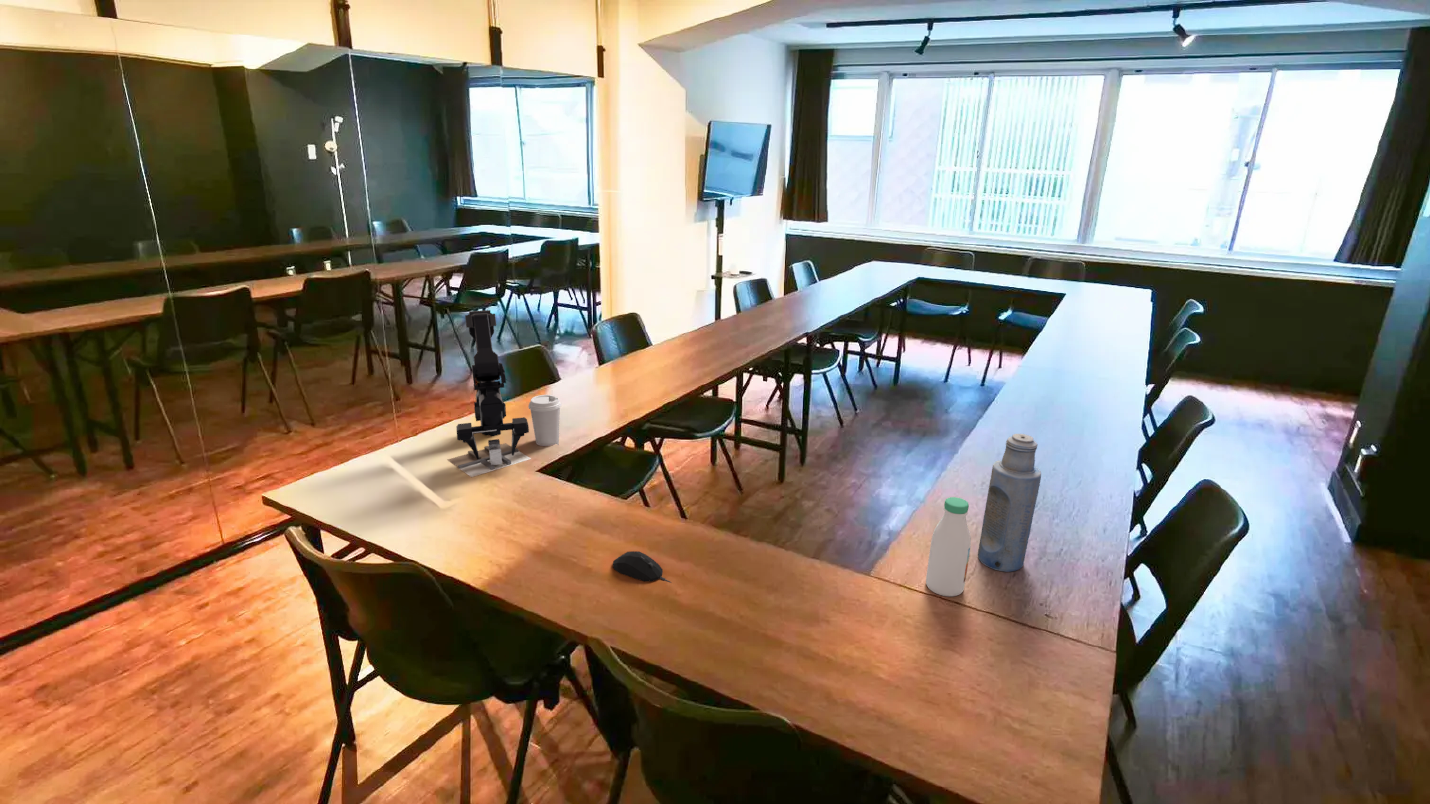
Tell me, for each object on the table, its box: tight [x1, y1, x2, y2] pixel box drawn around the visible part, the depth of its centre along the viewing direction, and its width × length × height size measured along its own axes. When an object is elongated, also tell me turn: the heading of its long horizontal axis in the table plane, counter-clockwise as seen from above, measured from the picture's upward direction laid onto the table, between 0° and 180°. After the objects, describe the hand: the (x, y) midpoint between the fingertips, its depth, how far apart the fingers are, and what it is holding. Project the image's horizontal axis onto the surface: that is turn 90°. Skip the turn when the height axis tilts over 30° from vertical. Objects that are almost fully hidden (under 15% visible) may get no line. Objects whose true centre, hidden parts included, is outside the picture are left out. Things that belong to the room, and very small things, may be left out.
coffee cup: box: [528, 394, 562, 447], centre depth 212 cm, size 10×10×15 cm
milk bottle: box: [925, 496, 972, 598], centre depth 146 cm, size 8×8×20 cm
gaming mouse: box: [612, 550, 672, 584], centre depth 152 cm, size 6×15×4 cm, turn 59°
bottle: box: [977, 433, 1042, 573], centre depth 154 cm, size 10×10×30 cm
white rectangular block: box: [487, 438, 502, 465], centre depth 198 cm, size 6×3×5 cm, turn 20°
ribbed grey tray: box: [447, 442, 532, 478], centre depth 202 cm, size 15×18×2 cm
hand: (495, 457), depth 198 cm, fingers open, 9 cm apart
